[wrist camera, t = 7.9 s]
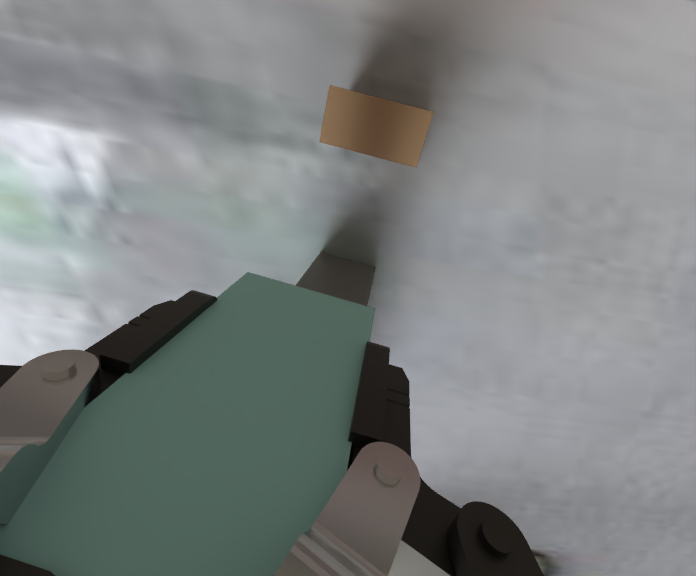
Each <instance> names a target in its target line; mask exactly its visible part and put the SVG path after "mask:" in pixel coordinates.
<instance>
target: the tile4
mask: <svg viewBox="0 0 696 576" xmlns="http://www.w3.org/2000/svg"><path fill="white" fill-rule="evenodd" d="M374 272H375V267H371V266H368V265H364V264H361V263H357V262H354V261H350V260H346V259H343V258H339V257H336V256H332V255H329V254H325V253H320V254H319V255H318V257H317V258H316V259H315V261H314V262H313V263H312V265H311V266H310V267H309V269H308V270H307V271H306V272H305V274H304V275H303V276H302V278H301V279H300V280H299V282H298V283H297V284H296V286H298V287H301V288H305V289H308V290H312V291H315V292H319V293H322V294H326V295H329V296H333V297H336V298H340V299H343V300H347V301H350V302H354V303H357V304H361V305H364V306H367V304H368V299H369V295H370V290H371V286H372V281H373V277H374Z"/></svg>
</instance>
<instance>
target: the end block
mask: <svg viewBox="0 0 696 576" xmlns="http://www.w3.org/2000/svg"><path fill="white" fill-rule="evenodd" d="M432 116H433V112H432V111H428V110H424V109H421V108H417V107H413V106H409V105H405V104H401V103H397V102H394V101H390V100H386V99H382V98H378V97H374V96H370V95H366V94H363V93H359V92H355V91H351V90H347V89H343V88H339V87H336V86H332V85H330V87H329V92H328V98H327V103H326V109H325V114H324V120H323V125H322V131H321V136H320V142H322V143H326V144H329V145H333V146H337V147H341V148H344V149H348V150H352V151H356V152H359V153H363V154H367V155H371V156H374V157H378V158H382V159H386V160H389V161H393V162H397V163H401V164H404V165H408V166H412V167H417V164H418V161H419V158H420V154H421V151H422V148H423V145H424V141H425V138H426V135H427V132H428V129H429V125H430V122H431V119H432Z"/></svg>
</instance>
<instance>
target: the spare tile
mask: <svg viewBox="0 0 696 576" xmlns="http://www.w3.org/2000/svg"><path fill="white" fill-rule="evenodd" d="M217 299H218V300H217V301H216V302H215V303H213V304H212V305H211V306H210V307H209V308H208V309H206V310H205V311H204V312H203V313H202V314H200V315H199V316H198V317H197V318H196V319H195V320H193V321H192V322H191V323H190V324H189V325H187V326H186V327H185V328H184V329H183V330H182V331H180V332H179V333H178V334H177V335H176V336H174V337H173V338H172V339H171V340H170V341H169V342H167V343H166V344H165V345H164V346H163V347H161V348H160V349H159V350H158V351H157V352H155V353H154V354H153V355H152V356H151V357H150V358H148V359H147V360H146V361H145V362H144V363H142V364H141V365H140V366H139V367H138V368H137V369H135V370H134V371H133V372H132V373H131V374H129V373H125V374H124V375H123V376H122V377H121V378H119V379H118V380H117V381H116V382H115V383H113V384H112V385H111V386H110V387H109V388H107V389H106V390H105V391H104V392H103V393H101V394H100V395H99V396H98V397H97V398H95V399H94V400H93V401H92V402H90V403H89V404H88V405H87V406H86V407H84V409H83V410H82V412H81V413H80V415H79V416H78V418H77V419H76V421H75V423H74V424H73V426H72V427H71V429H70V430H69V432H68V433H67V435H66V436H65V438H64V439H63V441H62V443H61V444H60V446H59V447H58V449H57V450H56V452H55V453H54V455H53V456H52V458H51V459H50V461H49V463H48V464H47V466H46V467H45V469H44V470H43V472H42V473H41V475H40V476H39V478H38V479H37V481H36V483H35V484H34V486H33V487H32V489H31V490H30V492H29V493H28V495H27V496H26V498H25V499H24V501H23V503H22V504H21V506H20V507H19V509H18V510H17V512H16V513H15V515H14V516H13V518H12V519H11V521H10V523H9V524H8V525H0V554H1V555H4V556H7V557H10V558H13V559H16V560H19V561H22V562H25V563H28V564H31V565H34V566H36V567H39V568H42V569H45V570H48V571H51V572H52V573H53V574H54V575H55V576H274V574H275V573H276V571H277V569H278V568H279V566H280V565H281V563H282V562H283V560H284V559H285V557H286V556H287V554H288V553H289V551H290V550H291V548H292V547H293V545H294V544H295V542H296V541H297V540H298V538H299V537H300V536H301V535H302V533H303V532H305V531H309V530H310V528H311V527H312V526H313V524H314V523H315V521H316V520H317V518H318V517H319V515H320V513H321V512H322V510H323V509H324V507H325V506H326V504H327V502H328V501H329V499H330V498H331V496H332V495H333V493H334V491H335V490H336V488H337V487H338V485H339V483H340V482H341V480H342V479H343V477H344V476H345V474H346V472H347V467H348V462H349V456H350V450H351V444H352V442H349V441H348V437H349V432H350V426H351V421H352V416H353V410H354V405H355V400H356V394H357V389H358V384H359V378H360V373H361V368H362V362H363V357H364V352H365V346H366V342H367V341H368V342H369V340H370V335H371V329H372V323H373V317H374V312H375V308H371V307H368V306H364V305H361V304H357V303H354V302H350V301H347V300H343V299H340V298H336V297H333V296H329V295H326V294H322V293H319V292H315V291H312V290H308V289H305V288H301V287H298V286H295V285H291V284H288V283H284V282H281V281H277V280H274V279H270V278H267V277H263V276H260V275H256V274H253V273H249V272H247V273H246V274H245V275H244V276H243V277H241V278H240V279H239V280H238V281H236V282H235V283H234V284H233V285H232V286H230V287H229V288H228V289H227V290H226V291H224V292H223V293H222V294H221V295H220V296H218V297H217Z"/></svg>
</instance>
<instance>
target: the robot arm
mask: <svg viewBox="0 0 696 576" xmlns="http://www.w3.org/2000/svg"><path fill="white" fill-rule="evenodd" d="M217 300H218V299H217V298H216V297H215V296H211V295H208V294H204V293H201V292H197V291H194V290H192V291H190V292H188V293H187V294H185V295H184V296H182V297H181V298H179V299H178V300H177V301H172V300H170V301H167V302H164V303H161V304H158V305H155V306H152V307H151V308H149V309H148V310H146V311H145V312H143V313H142V314H140V316H139V317H138V316H137V317H136V318H134V319H132V320H131V321H129V323H128V324H125V325H123V326H122V327H120V328H119V329H117V330H116V331H114V332H112V333H111V334H109V335H108V336H106V337H105V338H103V339H102V340H100V341H99V342H97V343H96V344H94V345H93V346H91V347H89V348H88V349H86V350H85V351H82V350H61V351H55V352H51V353H47V354H44V355H41V356H39V357H36V358H34V359H32V360H30V361H29V362H27V363H26V364H24V365H23V366H12V365H0V525H8V524H9V523H10V521H11V519H12V518H13V516H14V515H15V513H16V512H17V510H18V509H19V507H20V506H21V504H22V503H23V501H24V499H25V498H26V496H27V495H28V493H29V492H30V490H31V489H32V487H33V486H34V484H35V483H36V481H37V479H38V478H39V476H40V475H41V473H42V472H43V470H44V469H45V467H46V466H47V464H48V463H49V461H50V459H51V458H52V456H53V455H54V453H55V452H56V450H57V449H58V447H59V446H60V444H61V443H62V441H63V439H64V438H65V436H66V435H67V433H68V432H69V430H70V429H71V427H72V426H73V424H74V423H75V421H76V419H77V418H78V416H79V415H80V413H81V412H82V410H83V409H84V407H86V406H87V405H88V404H89V403H90V402H92V401H93V400H94V399H95V398H97V397H98V396H99V395H100V394H101V393H103V392H104V391H105V390H106V389H107V388H109V387H110V386H111V385H112V384H113V383H115V382H116V381H117V380H118V379H119V378H121V377H122V376H123V375H124V374H125V373H129V374H131V373H132V372H133V371H134V370H135V369H137V368H138V367H139V366H140V365H141V364H142V363H144V362H145V361H146V360H147V359H148V358H150V357H151V356H152V355H153V354H154V353H155V352H157V351H158V350H159V349H160V348H161V347H163V346H164V345H165V344H166V343H167V342H169V341H170V340H171V339H172V338H173V337H174V336H176V335H177V334H178V333H179V332H180V331H182V330H183V329H184V328H185V327H186V326H187V325H189V324H190V323H191V322H192V321H193V320H195V319H196V318H197V317H198V316H199V315H200V314H202V313H203V312H204V311H205V310H206V309H208V308H209V307H210V306H211V305H212V304H213V303H215V302H216V301H217ZM389 353H390V348H389V347H386V346H382V345H379V344H375V343H372V342H368V341H367V342H366V346H365V352H364V357H363V362H362V368H361V373H360V378H359V384H358V389H357V394H356V400H355V405H354V410H353V416H352V421H351V426H350V432H349V437H348V441H349V442H352V444H351V450H350V456H349V462H348V467H347V472H346V474H345V476H344V477H343V479H342V480H341V482H340V483H339V485H338V487H337V488H336V490H335V491H334V493H333V495H332V496H331V498H330V499H329V501H328V502H327V504H326V506H325V507H324V509H323V510H322V512H321V513H320V515H319V517H318V518H317V520H316V521H315V523H314V524H313V526H312V527H311V528H310V530H309V531H305V532H303V533H302V535H301V536H300V537H299V538H298V540H297V541H296V542H295V544H294V545H293V547H292V548H291V550H290V551H289V553H288V554H287V556H286V557H285V559H284V560H283V562H282V563H281V565H280V566H279V568H278V569H277V571H276V573H275V574H274V576H544V575H543V573H542V571H541V569H540V567H539V565H538V563H537V561H536V559H535V557H534V555H533V553H532V551H531V549H530V547H529V545H528V543H527V541H526V539H525V537H524V536H523V534H522V532H521V531H520V530H519V528H518V527H517V526H516V525H515V523H514V522H513V521H512V520H511V519H510V518H509V517H508V516H507V515H506V514H504V513H503V512H502V511H500V510H499V509H497V508H496V507H494V506H492V505H490V504H487V503H484V502H470V503H467V504H466V505H464V506H463V507H462V508H459V507H458V506H456V505H454V504H453V503H451V502H450V501H448V500H447V499H445V498H444V497H442V496H440V495H439V494H437V493H436V492H435V491H433V490H432V489H431V488H430V487H429V486H428V485H427V484H426V483H425V482H424V481H423V480H422V479H421V477H420V474H419V471H418V469H417V466H416V464H415V463H414V461H413V460H412V459H411V443H410V409H409V406H410V399H409V380H408V378H407V377H406V375H405V373H404V371H403V369H402V368H400V367H396V366H393V365H389ZM0 576H55V575H54V574H53V573H52V572H51V571H48V570H45V569H42V568H39V567H36V566H34V565H31V564H28V563H25V562H22V561H19V560H16V559H13V558H10V557H7V556H4V555H1V554H0Z"/></svg>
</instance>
